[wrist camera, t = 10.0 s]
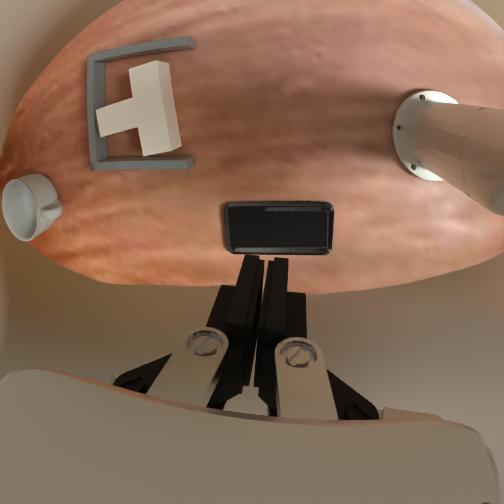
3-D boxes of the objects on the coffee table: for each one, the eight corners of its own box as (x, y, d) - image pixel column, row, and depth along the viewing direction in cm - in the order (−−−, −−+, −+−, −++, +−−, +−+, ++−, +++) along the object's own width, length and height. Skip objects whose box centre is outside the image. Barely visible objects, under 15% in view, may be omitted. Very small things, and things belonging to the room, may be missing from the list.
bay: (195, 40, 31) (188, 36, 28) (193, 164, 39) (186, 169, 37) (99, 56, 32) (87, 55, 30) (102, 165, 41) (91, 170, 38)
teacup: (28, 213, 47) (2, 230, 40) (29, 161, 41) (-2, 174, 34) (78, 235, 47) (52, 256, 40) (81, 178, 42) (50, 194, 35)
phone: (331, 255, 42) (227, 254, 44) (330, 251, 43) (229, 250, 45) (334, 203, 39) (222, 203, 41) (333, 200, 40) (224, 200, 42)
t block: (168, 63, 33) (156, 60, 29) (181, 145, 38) (171, 150, 35) (106, 83, 34) (91, 83, 31) (120, 158, 40) (106, 165, 36)
